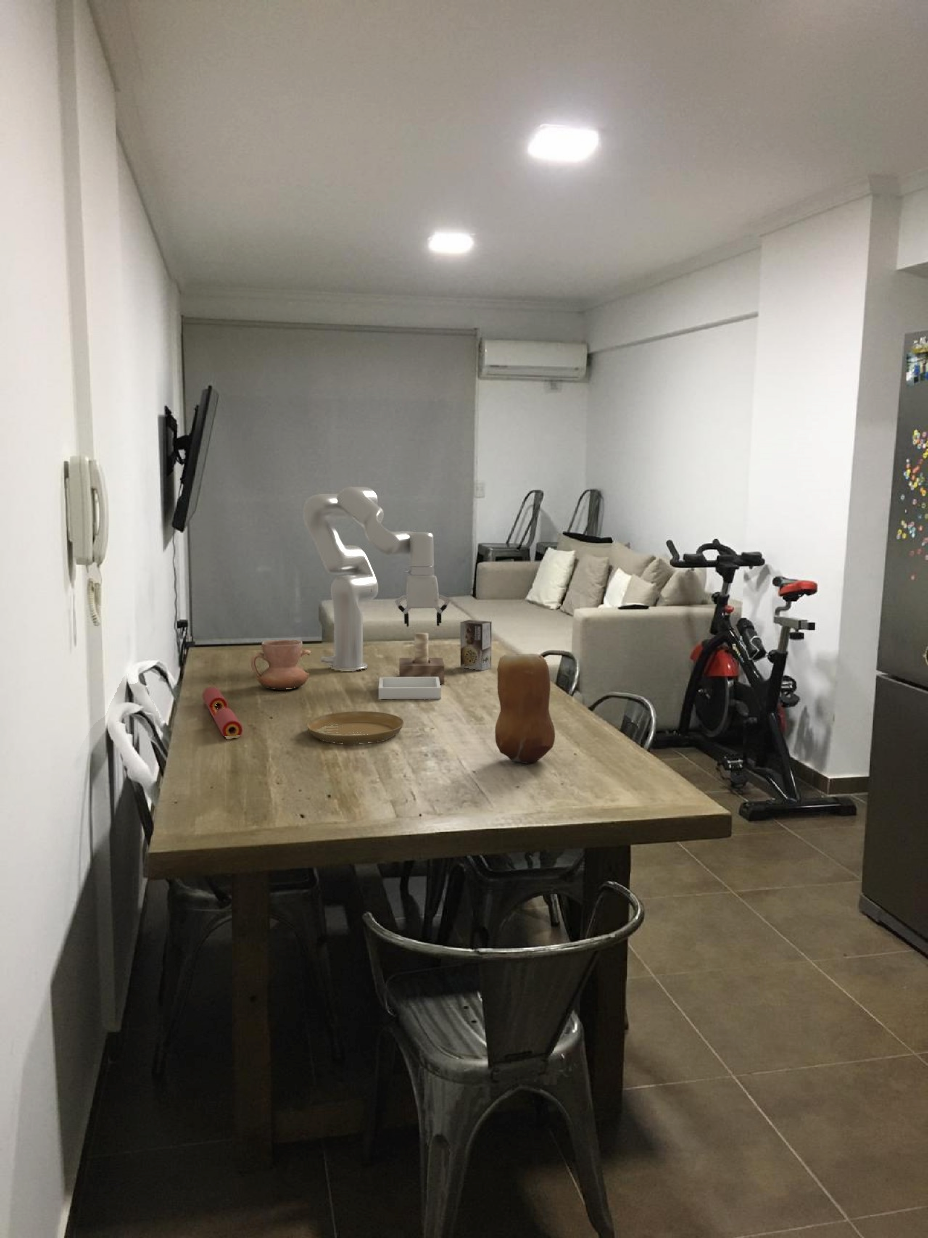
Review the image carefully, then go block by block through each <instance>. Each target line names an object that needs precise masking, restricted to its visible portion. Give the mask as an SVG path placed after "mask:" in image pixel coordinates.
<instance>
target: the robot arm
mask: <svg viewBox="0 0 928 1238" xmlns="http://www.w3.org/2000/svg"><path fill="white" fill-rule="evenodd" d="M378 502H379V501H378V496H377V494H376V492H375V491H374V490H373V489H372V488H370V487H367V486H348V487H344V488H343V489H341V490H340V491H338V493H319V494H315V495H311V496H310V497H308V499H306V501H305V503H304V506H303V511H302V517H303V522H304V525H305V527H306V529H307V531H308V533H309V534H310V536H311V538H312V540H313V543H314V545H315V547H316V550H317V553H318V554H319V557H320V559H321V562H322V563H323V566H324V568H325V570H326V571H327V573H329V574H331V575H341V576H338V577H336V578H335V579H334V580H333V581H332V582H331V585H330V596H331V601H332V605H333V606H332V607H333V632H334V633H333V637H334V640H333V642H334V648H333V649H334V654H333V655H331V656H321V657H320V659H321V660H320V661H321V662H320V663H324V664H329V668H330V667H331V668H336V669H342V670H355V669H362V668H367V666H368V663H365V662H364V648H363V647H364V641H363V639H364V637H363V636H364V635H363V634H364V633H363V632H364V629H363V628H364V627H363V624H364V623H363V620H364V618H363V613H362V610H361V608H360V606H359V603H362V602H369V601H372V600H374V599H375V598H376V597H377V595H378V593H379V583H378V580H377V578H376V575H375V572H374V570H373V568H372V565H371V563H370V561H369V559H368V556H367V555H366V553H365V552H364V550H363V549H362V548H361V547H360V546H358V545H353V544H352V545H350V544H349V545H345V544H344V543H343V542H342V540H341V537H340V535H339V533H338V530H337V529H336V528H335V527H334V525H332V524H331V523H330V522H329V520H341V519H342V520H343V519H349V518H351V519H353V521H355V522H356V523H357V524H358V525H359V526H361V527H362V528H363V529H364V534H365V537H366V539H367V541H368V542H369V543H370V545H372V546H373V547H374V548H376V550H378V551H379V552H380V553H381V554H383V555H385V556H388V557H394V556H395V557H396V556H408V555H409V567H407V568H405V573H407V574H409V575H408V576H407V579H406V589H405V591H406V592H405V594H403V595H402V596H400V597H398V598H396V599H395V600H394V603H395V605H396V606H397V608H398V609H399V611H400V612H402V614H403V622H404V623H403V624H405V625H406V627H407V628H409V626H410V624H409V623H410V622H409V621H410V620H409V619H410V618H409V617H410V615H409V611H410V610H411V609H435V610H436V626H437V627H440V624H441V623H442V613H443V612H444V611H445V610H446V609H447V608H448V605H449V604H450V601H451V599H450V598H449V597H446V596H445V595H442V594H440V593H439V584H438V582H439V581H438V579H437V578H438V577H437V576H436V575H435V567H434V566H435V561H434V560H435V558H434V557H435V556H434V555H435V554H434V553H435V552H434V551H435V549H434V534H433V533H431V532H427V531H426V532H425V531H423V532H422V531H420V532H419V531H418V532H417V531H416V532H414V531H411V530H410V531H409V530H406V531H405V530H403V531H401V530H400V531H390V530H389V529H387V528H386V527H385V526H383V524H382V522H383V519H384V517H385V515H384V510H383V508H381V506H379V505H378ZM439 600H441V601H444V602H443V604H442V606H439V604H440V603H439V602H440V601H439ZM403 601H406V606H405V607H404V606H403V605H402V603H401V602H403ZM367 669H368V668H367Z"/></svg>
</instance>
